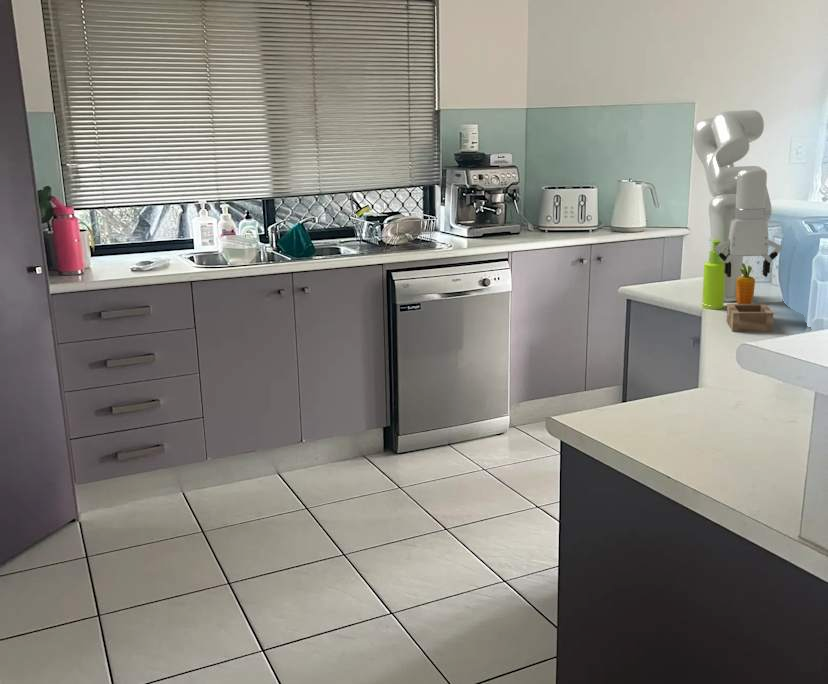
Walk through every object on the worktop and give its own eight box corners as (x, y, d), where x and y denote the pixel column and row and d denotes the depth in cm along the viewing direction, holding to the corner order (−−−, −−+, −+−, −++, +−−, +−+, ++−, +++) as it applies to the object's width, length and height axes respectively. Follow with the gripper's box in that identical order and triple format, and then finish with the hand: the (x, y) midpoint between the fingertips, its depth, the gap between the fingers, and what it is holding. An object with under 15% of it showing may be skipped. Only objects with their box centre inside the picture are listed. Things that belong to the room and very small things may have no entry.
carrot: (754, 318, 235) (757, 265, 230) (735, 318, 236) (738, 265, 231) (751, 313, 239) (754, 262, 235) (732, 313, 240) (735, 262, 236)
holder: (726, 321, 233) (727, 304, 232) (764, 321, 231) (765, 303, 230) (732, 331, 224) (733, 313, 222) (772, 331, 222) (773, 313, 220)
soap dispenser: (719, 303, 252) (722, 237, 246) (725, 308, 246) (728, 241, 240) (699, 303, 253) (702, 238, 247) (704, 309, 246) (707, 242, 241)
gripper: (780, 212, 231) (776, 273, 235) (714, 213, 234) (712, 274, 239) (786, 215, 224) (782, 278, 228) (718, 217, 227) (716, 279, 232)
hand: (746, 276), depth 233 cm, fingers open, 9 cm apart
